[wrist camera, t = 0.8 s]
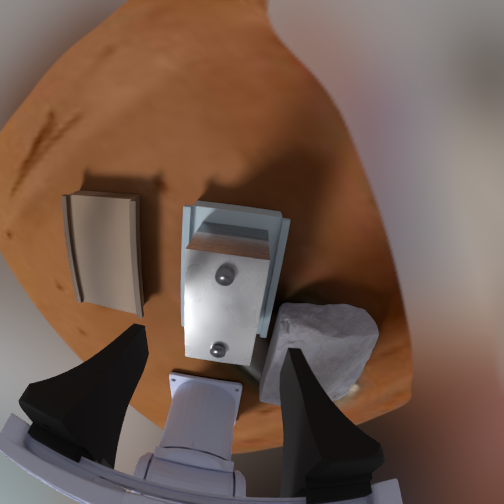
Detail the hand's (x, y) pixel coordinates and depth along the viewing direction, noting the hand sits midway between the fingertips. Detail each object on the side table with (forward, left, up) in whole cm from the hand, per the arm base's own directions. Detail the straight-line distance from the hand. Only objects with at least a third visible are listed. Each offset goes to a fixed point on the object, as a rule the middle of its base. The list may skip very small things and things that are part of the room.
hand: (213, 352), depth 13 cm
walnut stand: (0, +11, -9) cm, 14 cm away
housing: (0, 0, -8) cm, 8 cm away
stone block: (-8, -9, -10) cm, 15 cm away
